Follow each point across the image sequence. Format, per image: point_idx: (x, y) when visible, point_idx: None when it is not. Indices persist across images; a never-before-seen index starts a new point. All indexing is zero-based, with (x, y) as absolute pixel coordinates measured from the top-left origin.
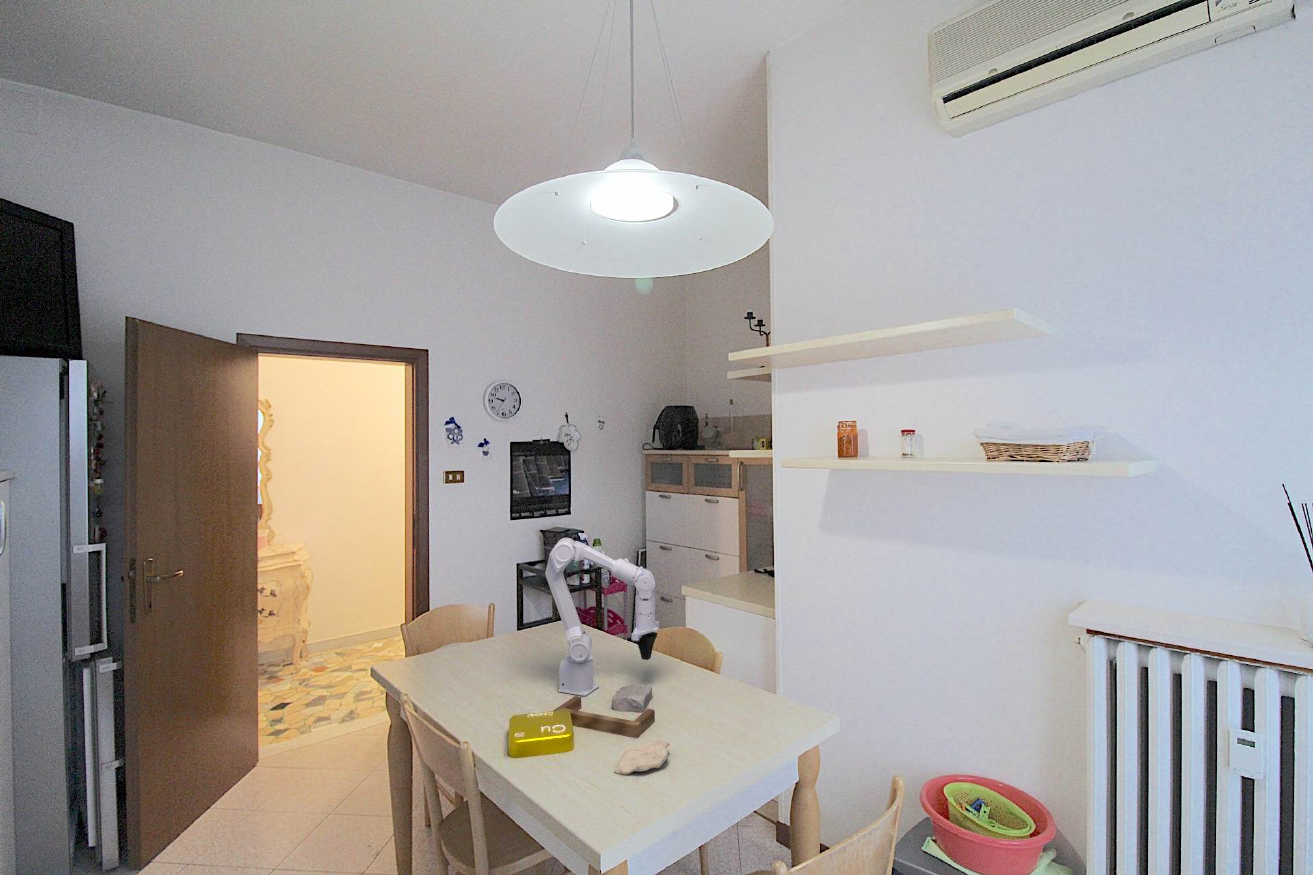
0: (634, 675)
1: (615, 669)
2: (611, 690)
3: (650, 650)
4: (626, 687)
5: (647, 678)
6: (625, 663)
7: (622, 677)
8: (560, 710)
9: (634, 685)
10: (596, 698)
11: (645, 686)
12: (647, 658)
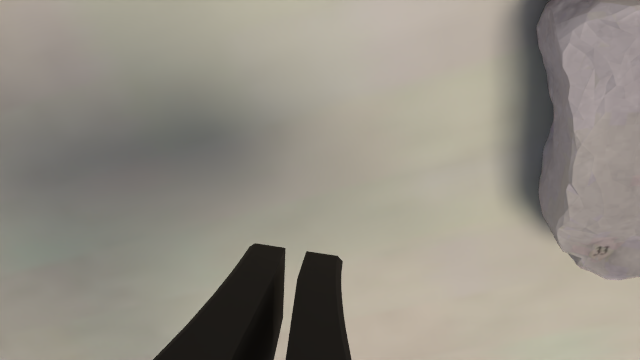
0: (149, 241)
1: (120, 351)
2: (468, 303)
3: (246, 338)
4: (603, 239)
5: (154, 145)
6: (4, 327)
7: None
8: None
9: (613, 189)
10: (631, 347)
11: (626, 78)
12: (340, 276)
